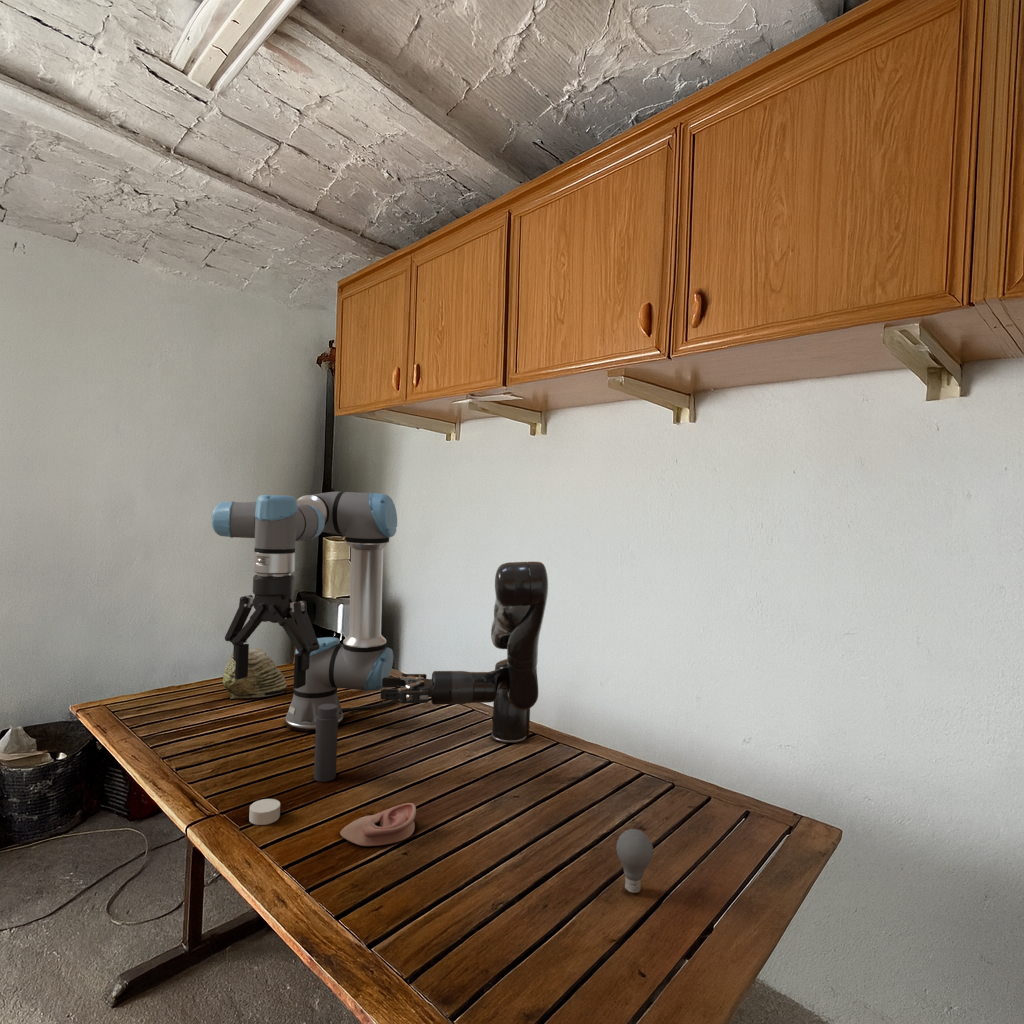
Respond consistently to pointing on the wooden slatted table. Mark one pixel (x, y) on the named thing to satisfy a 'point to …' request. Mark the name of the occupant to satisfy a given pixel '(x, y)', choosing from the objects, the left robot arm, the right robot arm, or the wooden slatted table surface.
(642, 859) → the light bulb
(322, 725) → the gray bottle
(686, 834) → the wooden slatted table surface
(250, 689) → the fossil
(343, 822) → the wooden slatted table surface
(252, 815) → the lid
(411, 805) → the anatomical model
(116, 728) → the wooden slatted table surface
